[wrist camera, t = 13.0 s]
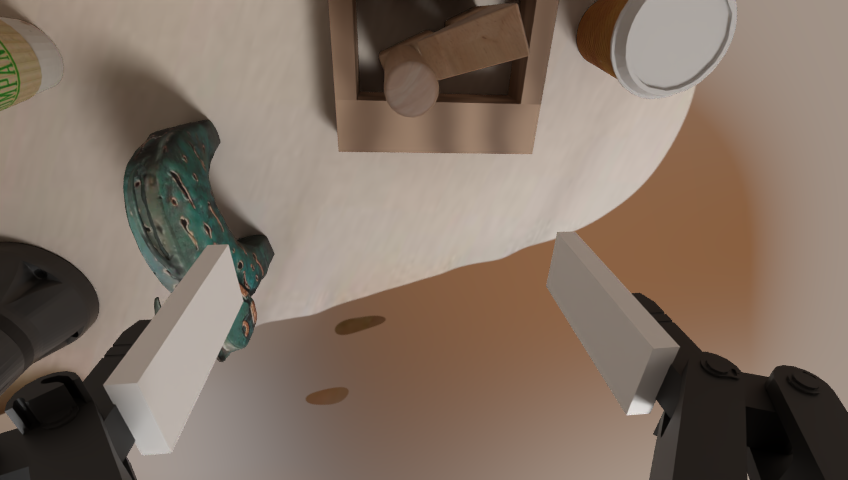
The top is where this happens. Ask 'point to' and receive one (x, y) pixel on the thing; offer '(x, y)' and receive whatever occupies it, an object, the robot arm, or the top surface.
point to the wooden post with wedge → (450, 55)
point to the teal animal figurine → (188, 217)
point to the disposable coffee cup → (657, 42)
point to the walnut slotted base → (442, 98)
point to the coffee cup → (26, 62)
